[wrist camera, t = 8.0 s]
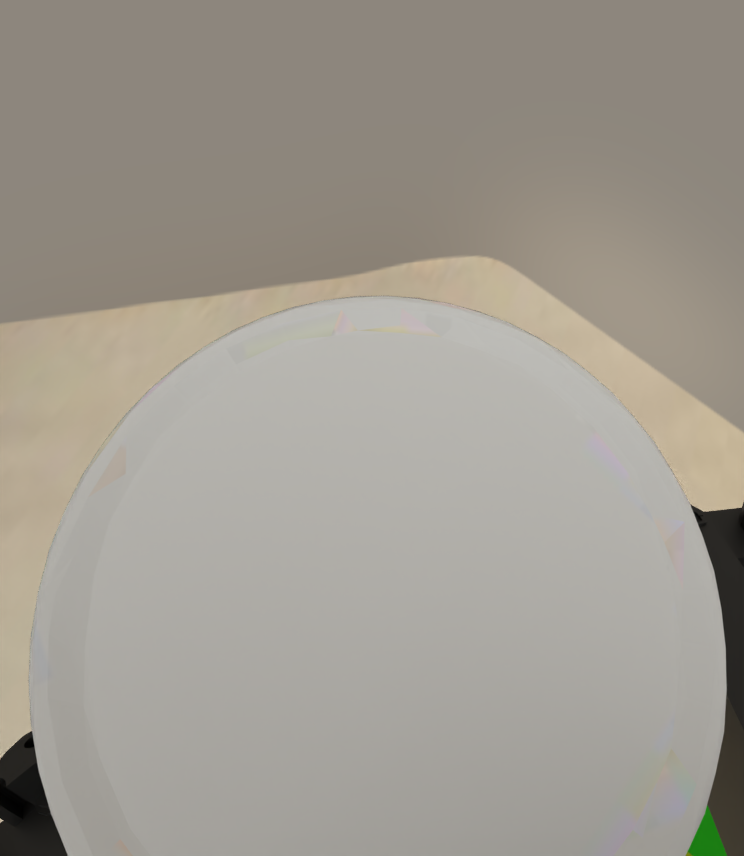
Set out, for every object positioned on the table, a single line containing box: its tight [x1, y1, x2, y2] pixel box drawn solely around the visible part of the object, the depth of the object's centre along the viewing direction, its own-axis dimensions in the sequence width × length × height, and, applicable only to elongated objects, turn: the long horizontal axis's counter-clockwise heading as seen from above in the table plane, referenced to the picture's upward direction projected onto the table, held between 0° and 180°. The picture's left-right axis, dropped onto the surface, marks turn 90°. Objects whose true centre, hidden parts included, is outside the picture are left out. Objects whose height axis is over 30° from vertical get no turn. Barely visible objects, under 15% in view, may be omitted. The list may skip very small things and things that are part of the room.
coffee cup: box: [29, 296, 727, 856], centre depth 11 cm, size 9×9×12 cm
